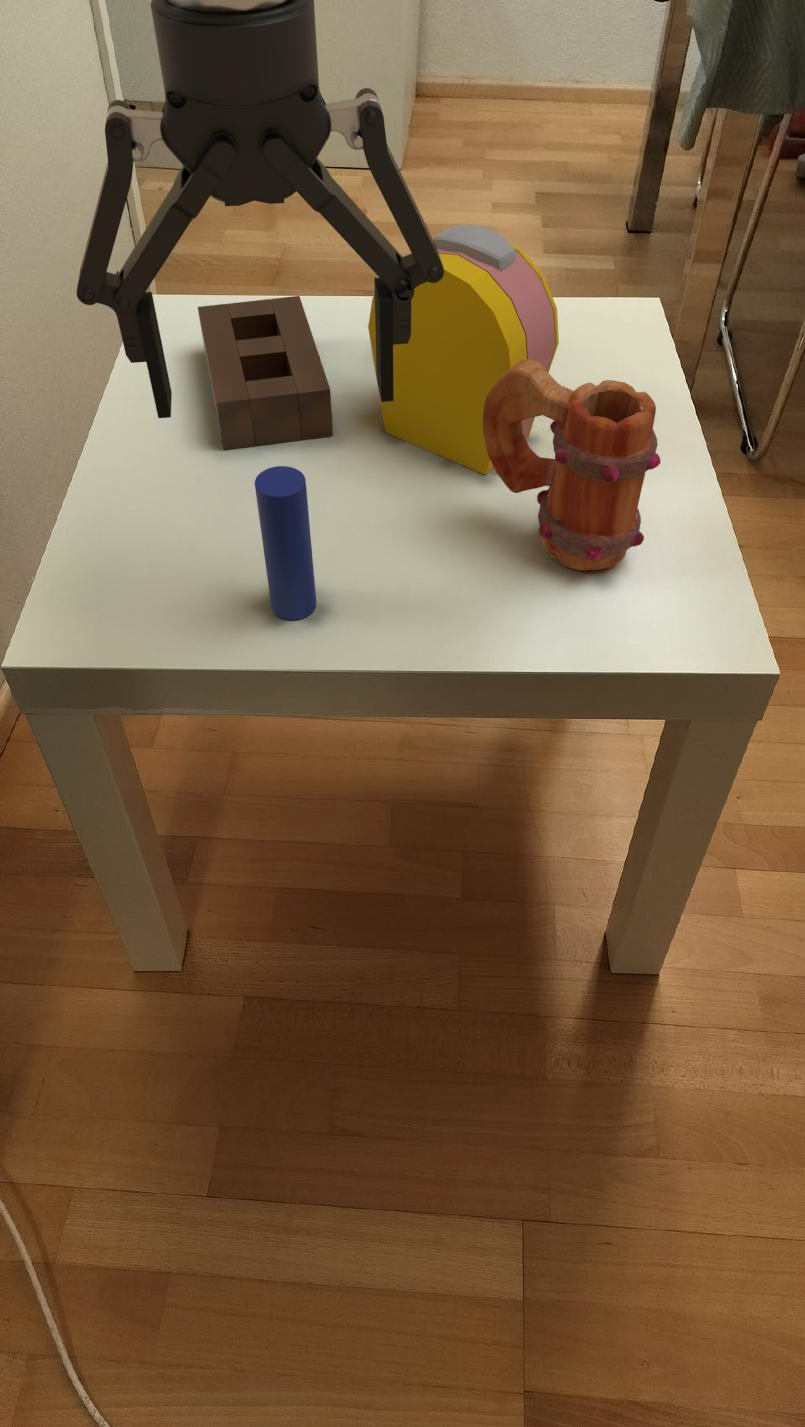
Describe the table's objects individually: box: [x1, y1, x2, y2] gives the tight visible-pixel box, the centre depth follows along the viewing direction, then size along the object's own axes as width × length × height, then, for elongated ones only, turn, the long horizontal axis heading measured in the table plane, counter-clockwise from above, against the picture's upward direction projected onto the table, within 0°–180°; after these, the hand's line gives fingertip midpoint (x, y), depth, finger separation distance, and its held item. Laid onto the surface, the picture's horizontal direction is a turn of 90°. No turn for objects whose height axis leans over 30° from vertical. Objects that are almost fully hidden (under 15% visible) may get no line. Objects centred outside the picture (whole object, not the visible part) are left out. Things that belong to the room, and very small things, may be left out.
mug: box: [483, 359, 662, 571], centre depth 79 cm, size 15×8×15 cm, turn 58°
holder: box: [197, 295, 334, 451], centre depth 98 cm, size 10×18×5 cm, turn 13°
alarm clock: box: [367, 224, 560, 476], centre depth 88 cm, size 15×8×18 cm, turn 54°
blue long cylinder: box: [254, 465, 317, 621], centre depth 75 cm, size 4×4×12 cm
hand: (276, 398), depth 62 cm, fingers open, 13 cm apart
